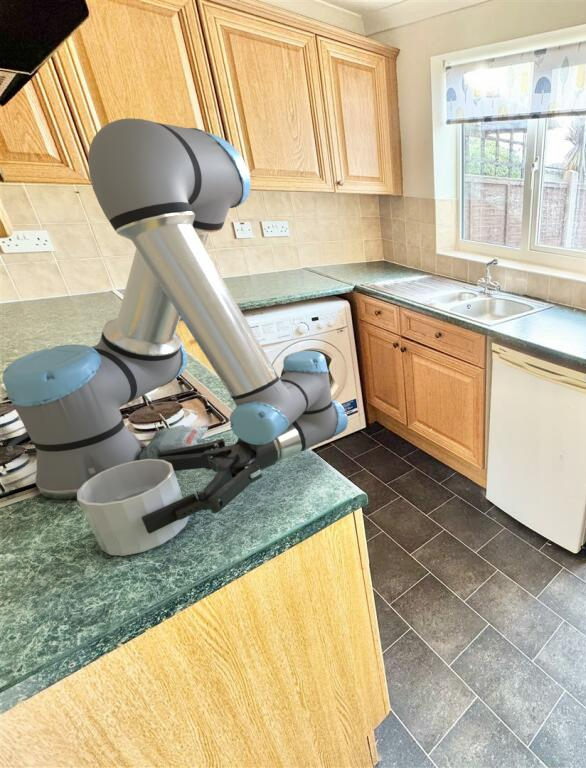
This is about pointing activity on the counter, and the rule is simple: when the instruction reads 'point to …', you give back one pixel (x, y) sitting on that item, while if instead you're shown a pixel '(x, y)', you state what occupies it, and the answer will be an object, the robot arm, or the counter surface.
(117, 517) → the grey faceted pot
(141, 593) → the counter surface
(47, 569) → the counter surface
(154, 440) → the packaged food
